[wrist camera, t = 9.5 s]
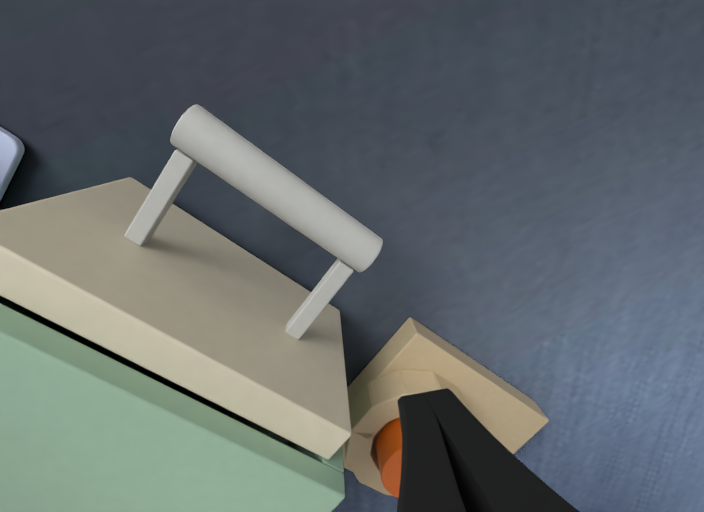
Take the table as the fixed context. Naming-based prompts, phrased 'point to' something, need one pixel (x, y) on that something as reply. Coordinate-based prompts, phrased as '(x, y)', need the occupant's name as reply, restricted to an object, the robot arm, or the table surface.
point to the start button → (390, 456)
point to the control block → (422, 376)
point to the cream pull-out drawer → (196, 287)
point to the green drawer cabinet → (134, 440)
